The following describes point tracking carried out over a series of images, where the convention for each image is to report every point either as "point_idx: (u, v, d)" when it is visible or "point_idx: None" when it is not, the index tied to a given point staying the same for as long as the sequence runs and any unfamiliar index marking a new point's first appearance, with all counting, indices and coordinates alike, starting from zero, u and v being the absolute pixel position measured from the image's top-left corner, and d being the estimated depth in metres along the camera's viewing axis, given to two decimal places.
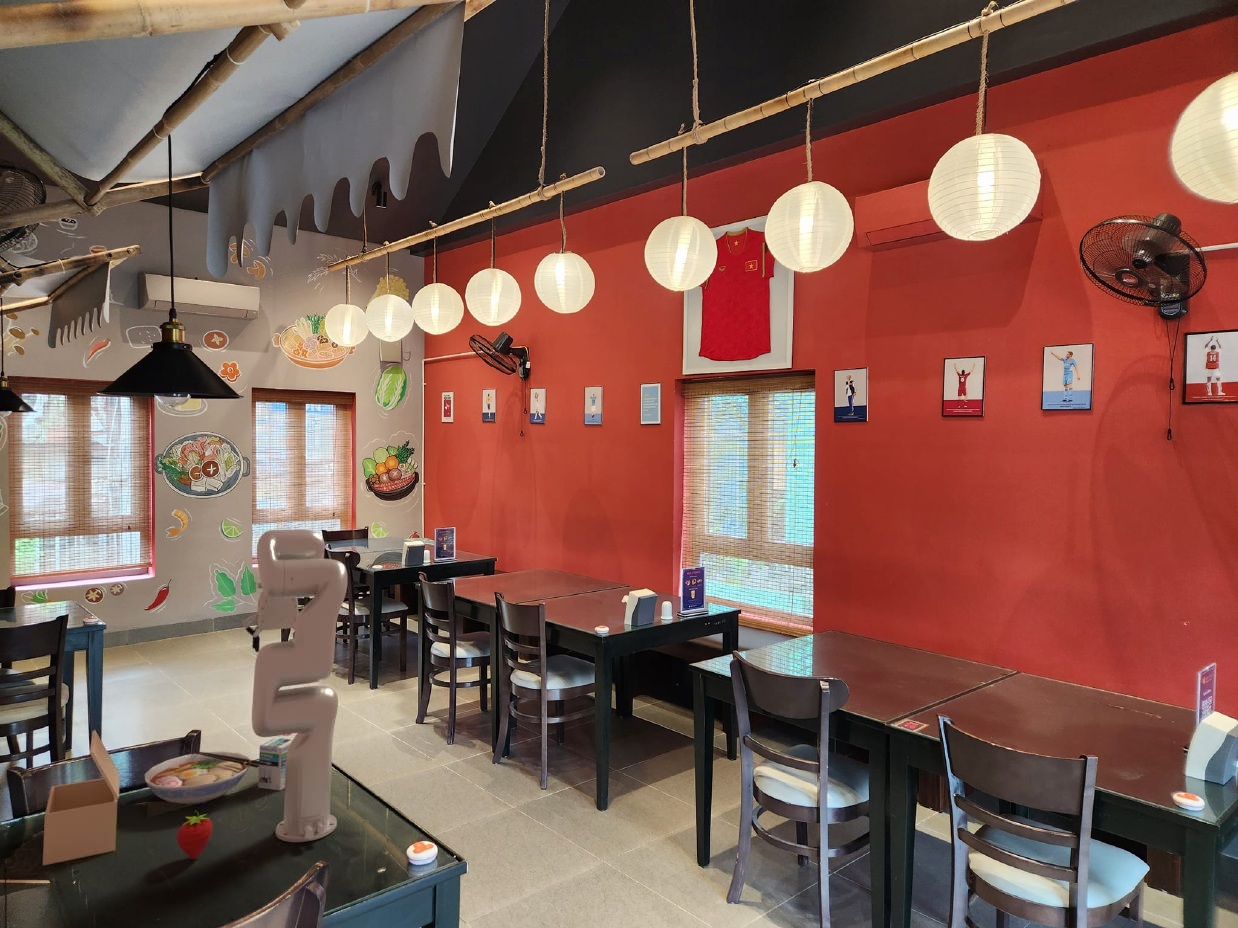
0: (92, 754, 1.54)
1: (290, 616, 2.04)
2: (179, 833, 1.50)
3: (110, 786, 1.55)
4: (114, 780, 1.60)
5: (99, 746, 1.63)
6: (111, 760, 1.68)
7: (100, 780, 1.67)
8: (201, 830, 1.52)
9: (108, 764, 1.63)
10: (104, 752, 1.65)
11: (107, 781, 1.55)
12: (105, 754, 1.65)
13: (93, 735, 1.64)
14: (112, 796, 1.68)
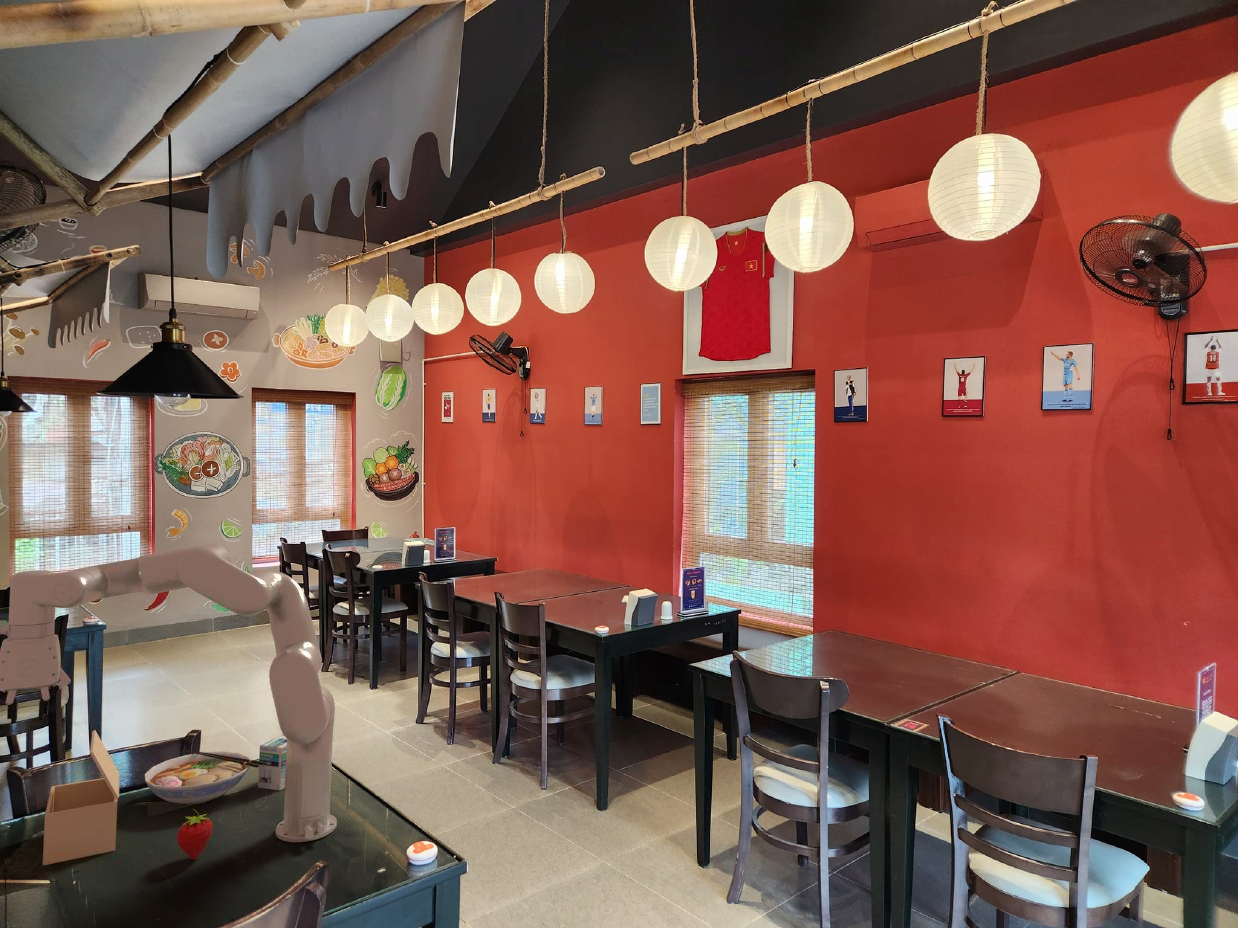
0: (92, 754, 1.54)
1: (46, 671, 1.54)
2: (179, 833, 1.50)
3: (110, 786, 1.55)
4: (114, 780, 1.60)
5: (99, 746, 1.63)
6: (111, 760, 1.68)
7: (100, 780, 1.67)
8: (201, 830, 1.52)
9: (108, 764, 1.63)
10: (104, 752, 1.65)
11: (107, 781, 1.55)
12: (105, 754, 1.65)
13: (93, 735, 1.64)
14: (112, 796, 1.68)
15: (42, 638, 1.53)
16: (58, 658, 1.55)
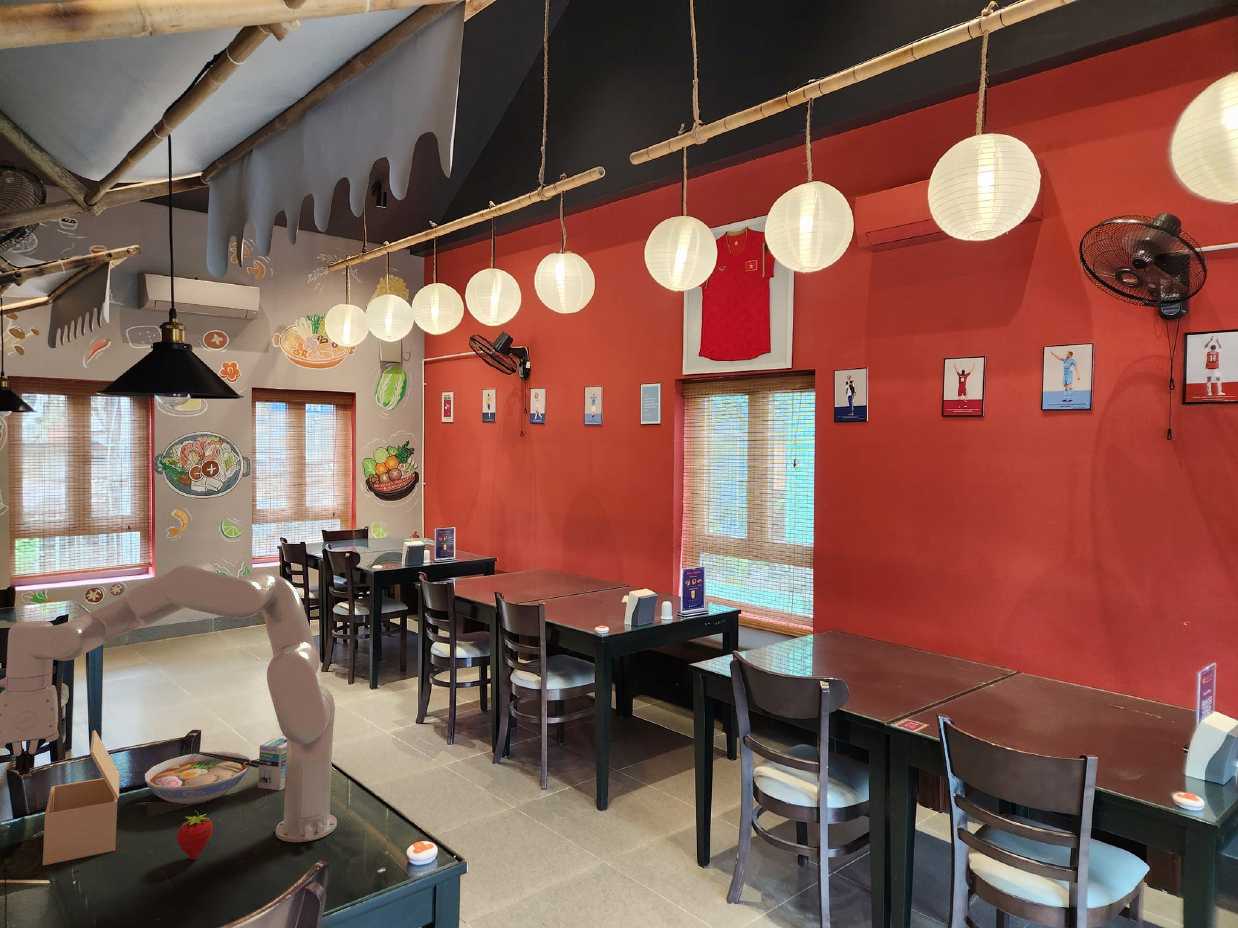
0: (92, 754, 1.54)
1: (43, 723, 1.53)
2: (179, 833, 1.50)
3: (110, 786, 1.55)
4: (114, 780, 1.60)
5: (99, 746, 1.63)
6: (111, 760, 1.68)
7: (100, 780, 1.67)
8: (201, 830, 1.52)
9: (108, 764, 1.63)
10: (104, 752, 1.65)
11: (107, 781, 1.55)
12: (105, 754, 1.65)
13: (93, 735, 1.64)
14: (112, 796, 1.68)
15: (39, 690, 1.53)
16: (55, 710, 1.55)
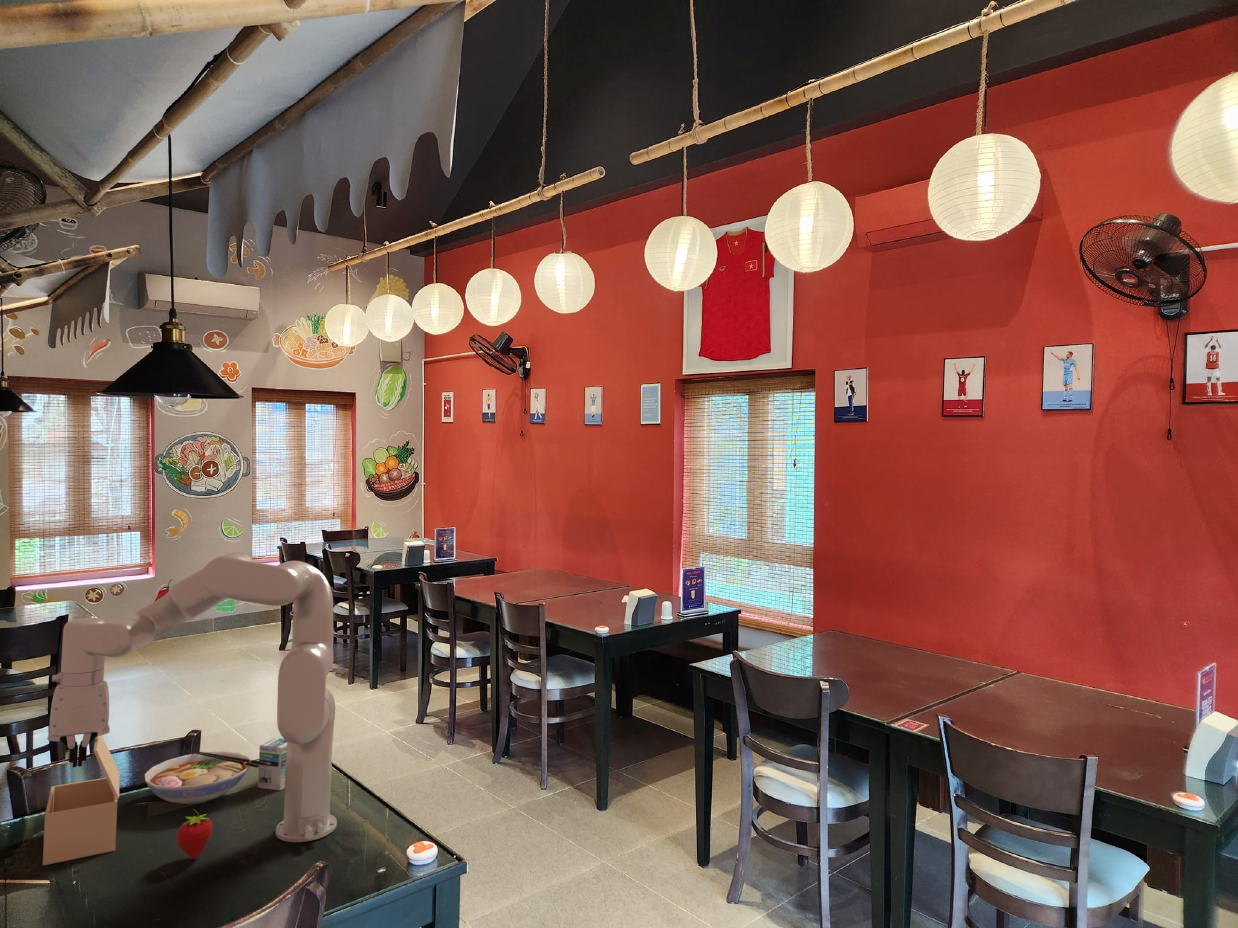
0: (96, 752, 1.54)
1: (96, 717, 1.58)
2: (179, 833, 1.50)
3: (111, 785, 1.56)
4: (115, 780, 1.61)
5: (102, 745, 1.63)
6: (112, 759, 1.68)
7: (100, 780, 1.67)
8: (201, 830, 1.52)
9: (110, 763, 1.63)
10: (106, 751, 1.65)
11: (109, 780, 1.55)
12: (107, 753, 1.65)
13: None
14: (112, 796, 1.68)
15: (93, 685, 1.58)
16: (107, 704, 1.60)
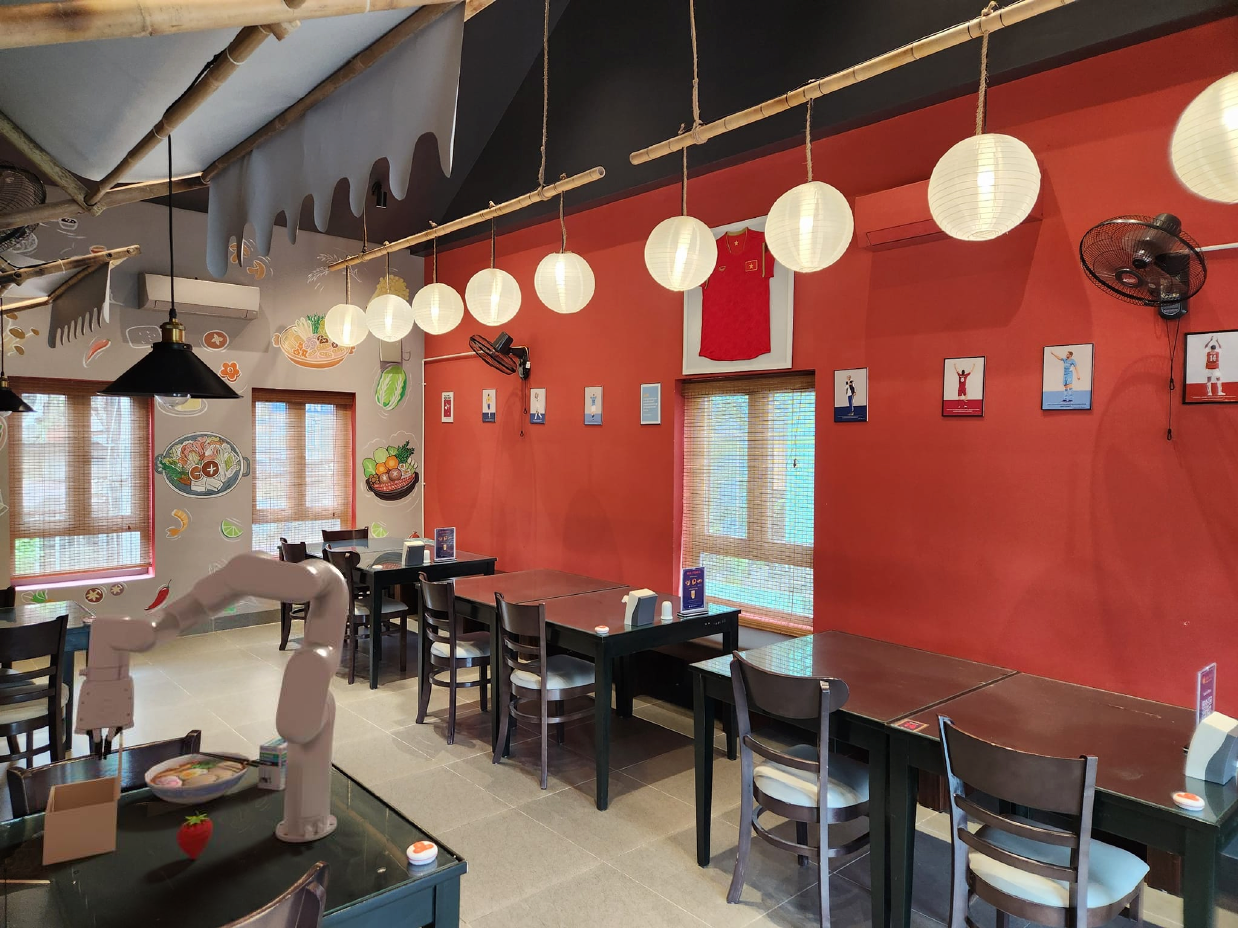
0: (121, 745, 1.57)
1: (121, 711, 1.61)
2: (179, 833, 1.50)
3: (119, 783, 1.56)
4: None
5: None
6: None
7: (100, 780, 1.67)
8: (201, 830, 1.52)
9: None
10: None
11: (119, 777, 1.56)
12: None
13: None
14: (112, 796, 1.68)
15: (119, 680, 1.60)
16: (133, 699, 1.63)
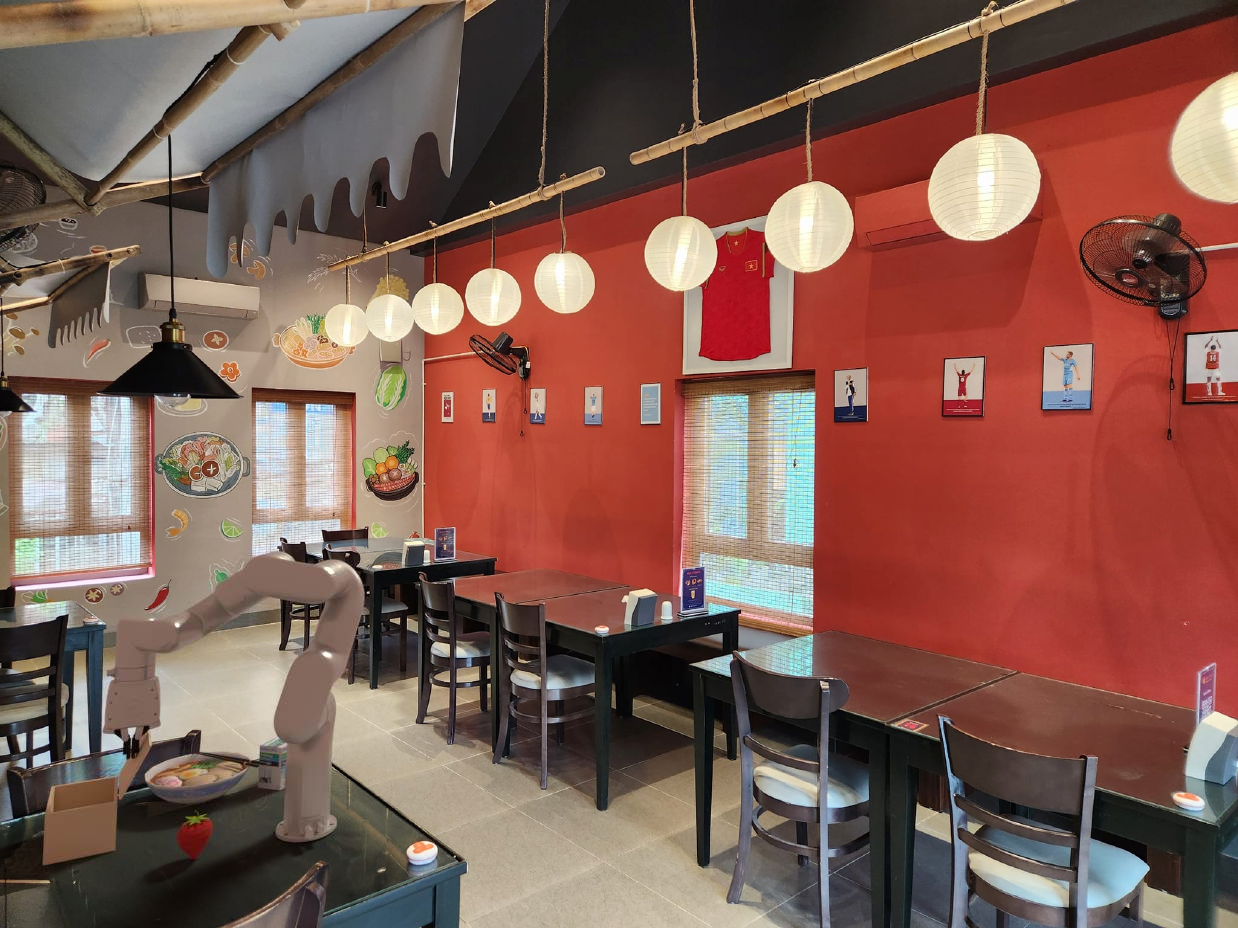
0: (149, 747, 1.59)
1: (148, 710, 1.64)
2: (179, 833, 1.50)
3: (128, 784, 1.57)
4: None
5: None
6: None
7: (100, 780, 1.67)
8: (201, 830, 1.52)
9: (133, 762, 1.65)
10: None
11: (131, 778, 1.57)
12: None
13: None
14: (112, 796, 1.68)
15: (146, 680, 1.63)
16: (159, 698, 1.65)
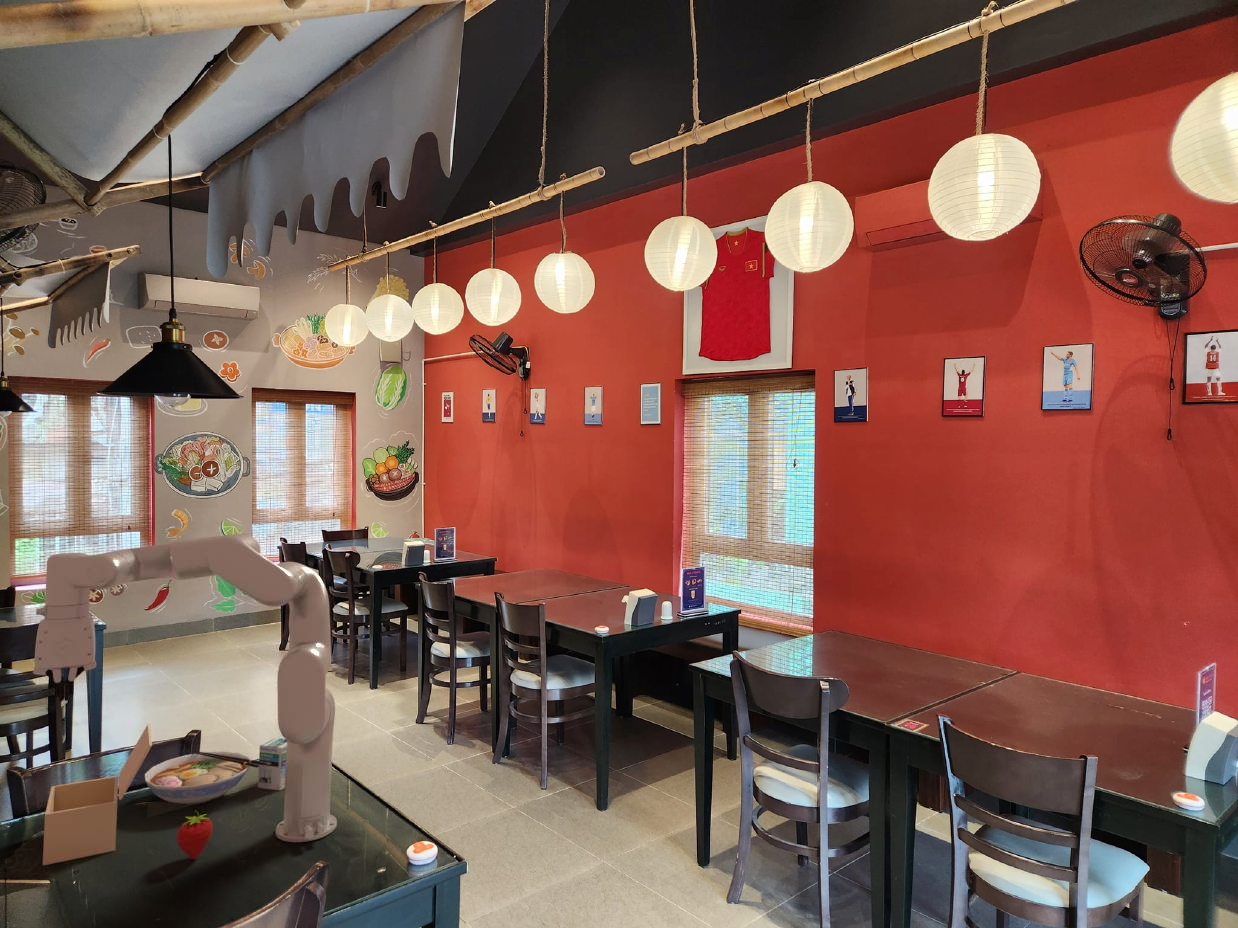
0: (149, 747, 1.59)
1: (82, 651, 1.57)
2: (179, 833, 1.50)
3: (128, 784, 1.57)
4: None
5: None
6: (130, 759, 1.70)
7: (100, 780, 1.67)
8: (201, 830, 1.52)
9: (133, 762, 1.65)
10: (138, 749, 1.68)
11: (131, 778, 1.57)
12: (137, 751, 1.68)
13: (149, 729, 1.69)
14: (112, 796, 1.68)
15: (78, 619, 1.56)
16: (93, 638, 1.59)
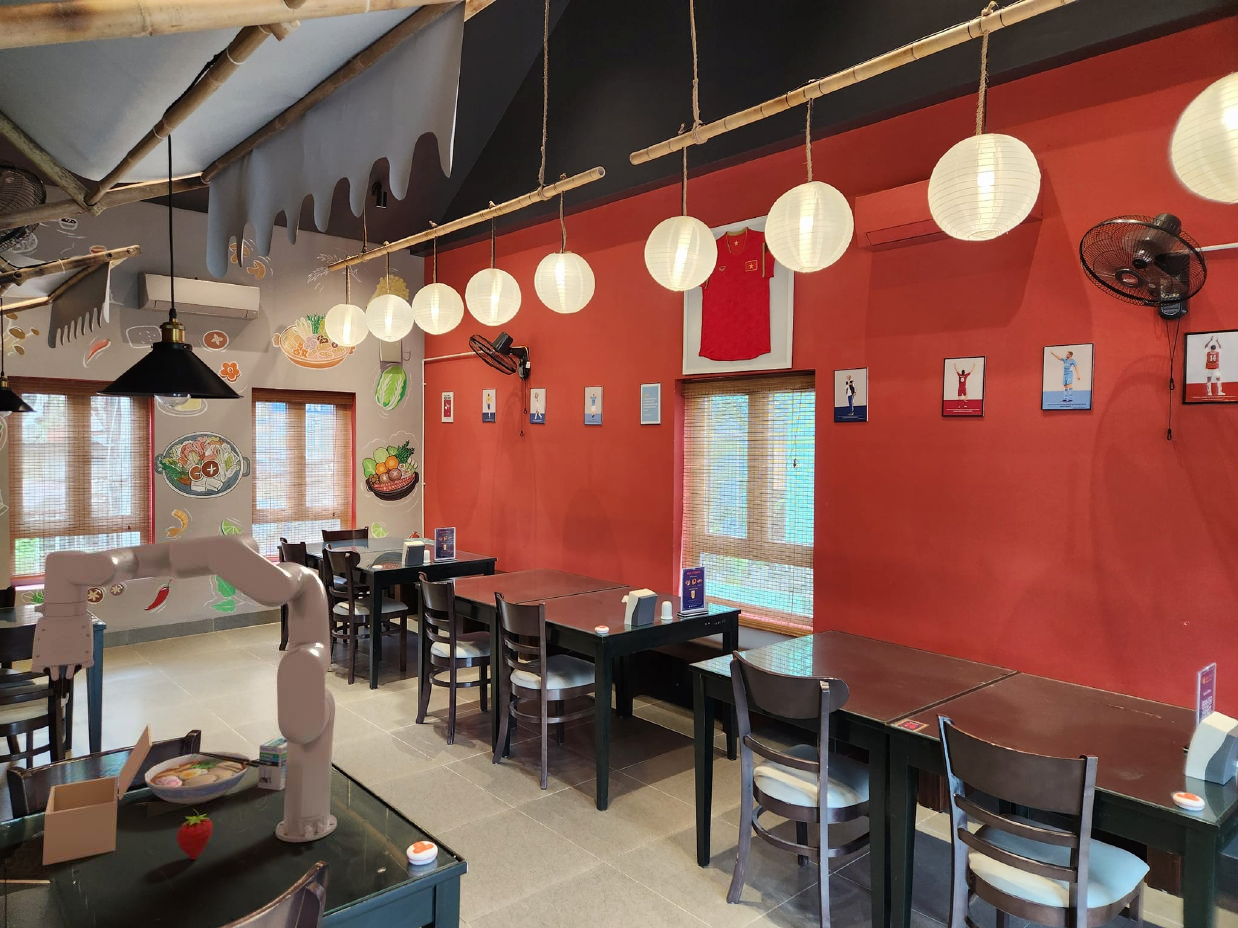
0: (149, 747, 1.59)
1: (79, 648, 1.57)
2: (179, 833, 1.50)
3: (128, 784, 1.57)
4: None
5: None
6: (130, 759, 1.70)
7: (100, 780, 1.67)
8: (201, 830, 1.52)
9: (133, 762, 1.65)
10: (138, 749, 1.68)
11: (131, 778, 1.57)
12: (137, 751, 1.68)
13: (149, 729, 1.69)
14: (112, 796, 1.68)
15: (76, 616, 1.56)
16: (91, 636, 1.58)
